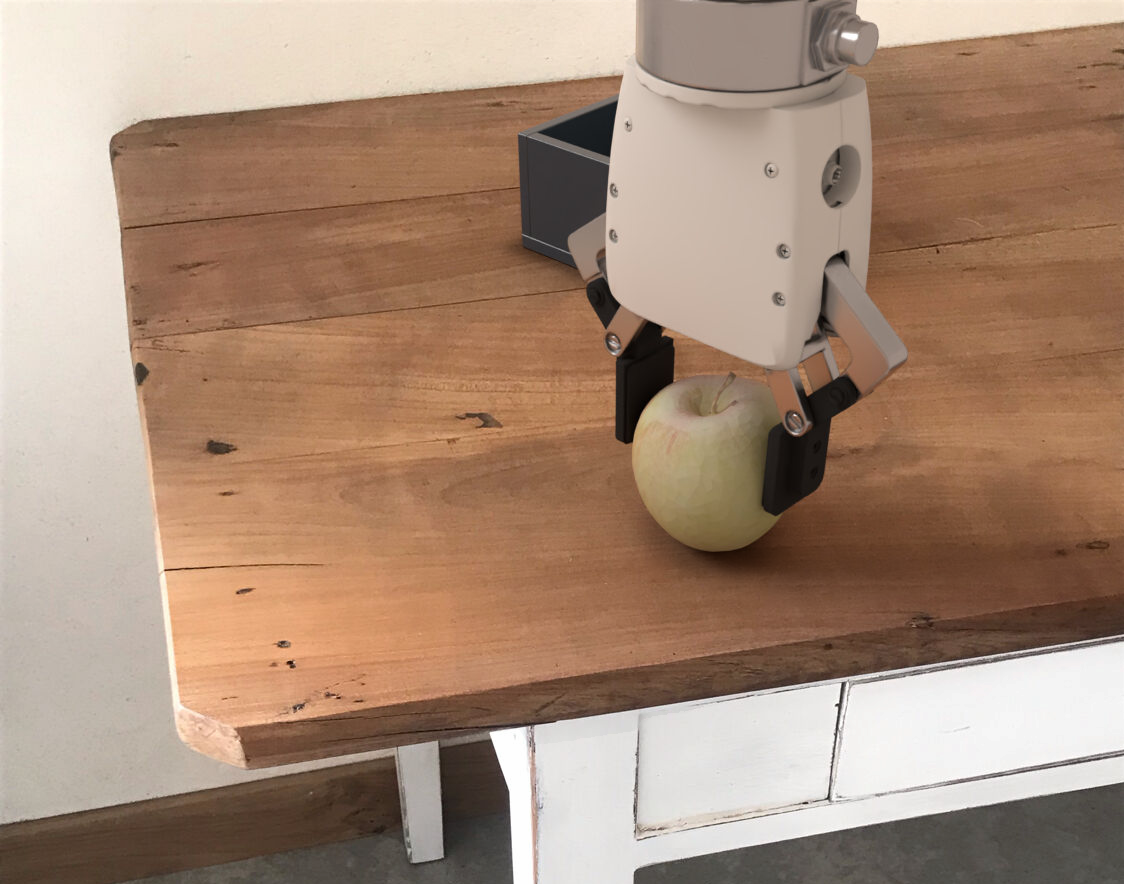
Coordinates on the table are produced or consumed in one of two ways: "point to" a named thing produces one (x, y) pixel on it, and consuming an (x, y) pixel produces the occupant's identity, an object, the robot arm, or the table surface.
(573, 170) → the dark grey open box
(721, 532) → the fruit
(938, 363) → the table surface
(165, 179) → the table surface
